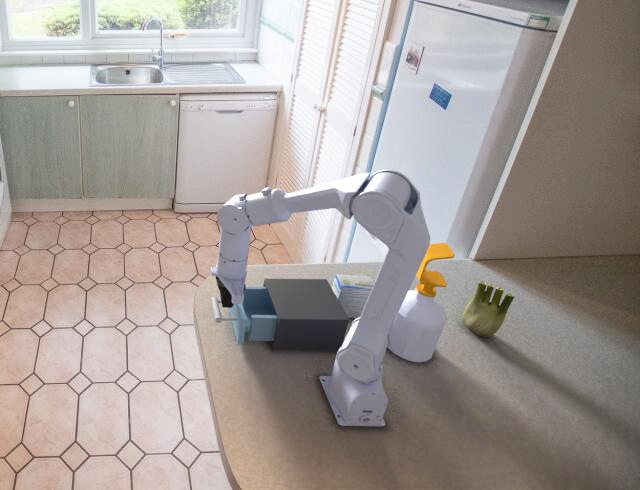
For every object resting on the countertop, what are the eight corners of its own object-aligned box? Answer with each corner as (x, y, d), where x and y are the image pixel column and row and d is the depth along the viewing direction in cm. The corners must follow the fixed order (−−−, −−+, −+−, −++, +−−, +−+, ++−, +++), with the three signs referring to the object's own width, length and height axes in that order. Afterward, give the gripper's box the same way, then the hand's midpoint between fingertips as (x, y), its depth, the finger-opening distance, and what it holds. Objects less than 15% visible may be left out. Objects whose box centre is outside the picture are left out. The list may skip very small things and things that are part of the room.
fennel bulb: (498, 338, 95) (519, 294, 89) (480, 343, 93) (500, 299, 88) (472, 318, 100) (490, 275, 95) (454, 323, 98) (472, 279, 93)
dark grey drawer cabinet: (273, 350, 92) (279, 318, 88) (259, 308, 102) (264, 278, 99) (340, 351, 92) (349, 319, 88) (319, 308, 102) (326, 279, 98)
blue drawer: (215, 344, 92) (218, 319, 89) (207, 306, 101) (210, 282, 99) (299, 345, 92) (304, 320, 89) (283, 307, 101) (288, 283, 98)
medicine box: (363, 305, 103) (371, 275, 99) (370, 320, 99) (380, 290, 95) (327, 303, 104) (334, 273, 100) (333, 317, 100) (341, 287, 96)
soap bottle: (439, 367, 88) (481, 267, 78) (389, 359, 90) (423, 260, 79) (422, 331, 96) (458, 236, 86) (376, 324, 98) (405, 231, 87)
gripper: (207, 230, 95) (203, 281, 101) (219, 277, 82) (213, 332, 88) (241, 230, 95) (234, 281, 101) (258, 277, 82) (249, 332, 88)
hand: (226, 305), depth 94 cm, fingers closed
